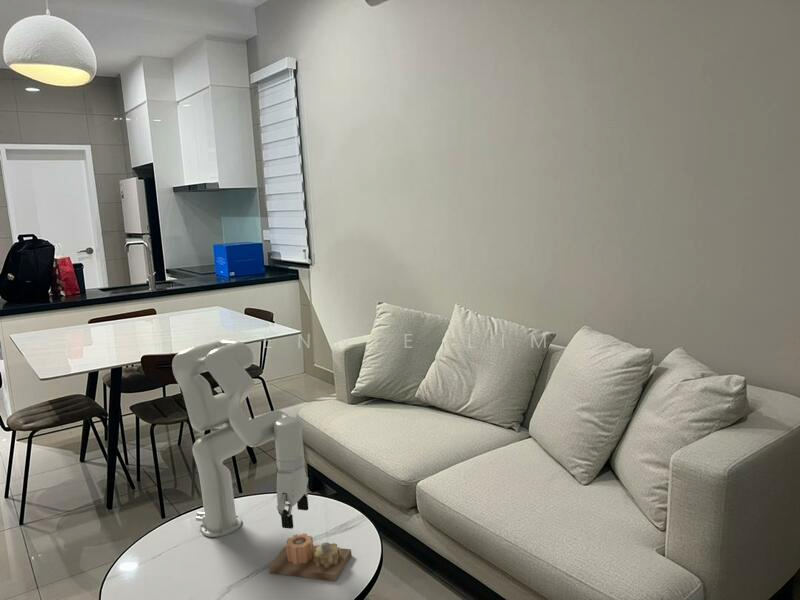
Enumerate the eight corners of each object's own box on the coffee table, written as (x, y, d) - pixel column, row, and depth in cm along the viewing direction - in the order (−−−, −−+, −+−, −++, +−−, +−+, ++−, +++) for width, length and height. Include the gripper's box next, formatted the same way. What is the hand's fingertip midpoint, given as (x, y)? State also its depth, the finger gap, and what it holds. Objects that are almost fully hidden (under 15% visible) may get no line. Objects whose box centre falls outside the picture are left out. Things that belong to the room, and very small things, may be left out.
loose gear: (283, 562, 171) (281, 546, 170) (295, 548, 178) (293, 532, 177) (307, 565, 169) (305, 549, 168) (318, 550, 176) (316, 534, 175)
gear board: (269, 573, 170) (267, 551, 169) (289, 548, 181) (286, 528, 180) (335, 581, 164) (333, 559, 163) (351, 555, 176) (349, 535, 175)
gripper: (292, 447, 178) (297, 501, 181) (263, 475, 162) (269, 533, 165) (315, 449, 176) (320, 504, 179) (288, 477, 160) (294, 537, 163)
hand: (295, 518), depth 172 cm, fingers open, 9 cm apart
